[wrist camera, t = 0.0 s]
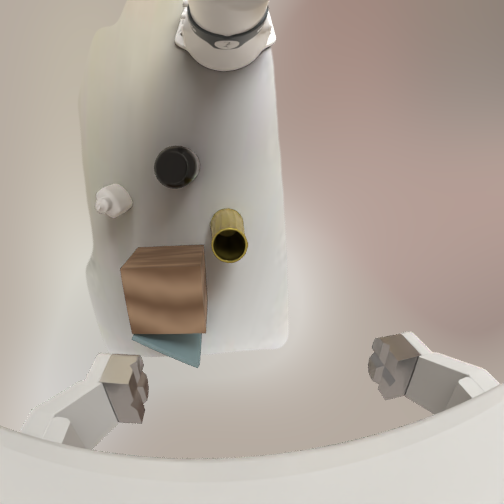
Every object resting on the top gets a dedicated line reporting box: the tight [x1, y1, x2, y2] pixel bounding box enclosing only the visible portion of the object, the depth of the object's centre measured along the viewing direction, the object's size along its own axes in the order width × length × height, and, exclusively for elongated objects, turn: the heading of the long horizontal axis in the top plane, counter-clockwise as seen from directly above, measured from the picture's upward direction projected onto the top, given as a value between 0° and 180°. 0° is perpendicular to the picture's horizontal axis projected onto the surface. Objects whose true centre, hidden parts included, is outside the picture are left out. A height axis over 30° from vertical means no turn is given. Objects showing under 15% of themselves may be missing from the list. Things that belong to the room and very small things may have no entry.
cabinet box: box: [120, 245, 208, 334], centre depth 53 cm, size 12×13×12 cm
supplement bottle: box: [154, 146, 200, 189], centre depth 47 cm, size 7×7×12 cm
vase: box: [211, 209, 248, 263], centre depth 50 cm, size 6×6×14 cm
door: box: [132, 333, 202, 368], centre depth 56 cm, size 2×13×11 cm, turn 61°
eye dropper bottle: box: [95, 184, 133, 218], centre depth 47 cm, size 4×6×12 cm
